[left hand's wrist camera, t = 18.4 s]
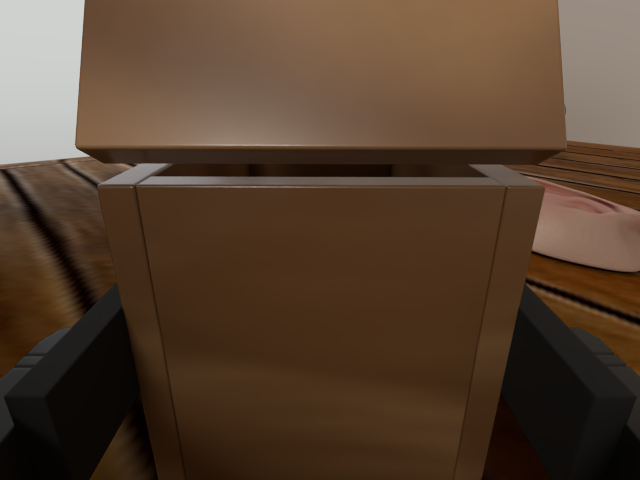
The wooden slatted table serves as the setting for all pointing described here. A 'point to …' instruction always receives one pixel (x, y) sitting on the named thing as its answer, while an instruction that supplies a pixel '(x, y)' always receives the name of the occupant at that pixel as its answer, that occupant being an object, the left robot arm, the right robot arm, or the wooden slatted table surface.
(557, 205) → the anatomical model
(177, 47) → the lid
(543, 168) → the wooden slatted table surface
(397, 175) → the chest
